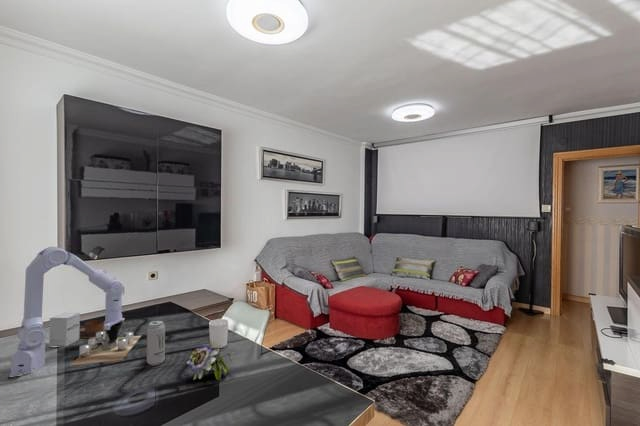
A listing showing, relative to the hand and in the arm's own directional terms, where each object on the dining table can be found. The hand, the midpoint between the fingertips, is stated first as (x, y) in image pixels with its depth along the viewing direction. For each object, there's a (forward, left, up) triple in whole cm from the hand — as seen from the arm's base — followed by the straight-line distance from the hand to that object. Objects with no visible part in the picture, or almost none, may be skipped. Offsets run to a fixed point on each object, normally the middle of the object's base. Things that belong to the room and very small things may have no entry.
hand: (113, 341), depth 130 cm
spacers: (-3, 0, -1) cm, 4 cm away
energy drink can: (-22, -21, -2) cm, 30 cm away
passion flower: (-36, -41, -2) cm, 55 cm away
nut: (-5, 0, -1) cm, 5 cm away
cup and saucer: (+15, +13, -2) cm, 19 cm away
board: (-6, 0, -2) cm, 6 cm away
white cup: (-12, -43, -2) cm, 45 cm away
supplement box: (+6, +21, -2) cm, 22 cm away
